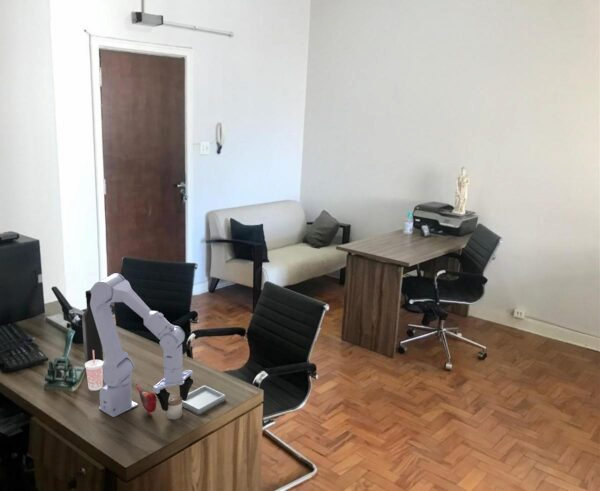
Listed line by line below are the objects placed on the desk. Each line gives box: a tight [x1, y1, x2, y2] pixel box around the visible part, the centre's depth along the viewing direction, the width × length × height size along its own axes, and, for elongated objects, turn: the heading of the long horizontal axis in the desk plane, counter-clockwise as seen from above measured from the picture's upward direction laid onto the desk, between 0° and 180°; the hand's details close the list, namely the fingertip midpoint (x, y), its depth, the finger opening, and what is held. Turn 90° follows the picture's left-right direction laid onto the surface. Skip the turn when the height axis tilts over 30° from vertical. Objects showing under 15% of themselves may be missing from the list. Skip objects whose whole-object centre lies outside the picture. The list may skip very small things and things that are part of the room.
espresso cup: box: [165, 394, 183, 420], centre depth 174 cm, size 5×5×6 cm
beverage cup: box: [84, 350, 104, 391], centre depth 188 cm, size 6×6×14 cm
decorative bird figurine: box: [135, 383, 157, 419], centre depth 174 cm, size 3×18×10 cm, turn 36°
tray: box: [182, 385, 226, 416], centre depth 182 cm, size 12×10×2 cm
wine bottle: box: [81, 289, 104, 364], centre depth 199 cm, size 6×6×30 cm
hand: (174, 404), depth 174 cm, fingers open, 7 cm apart
